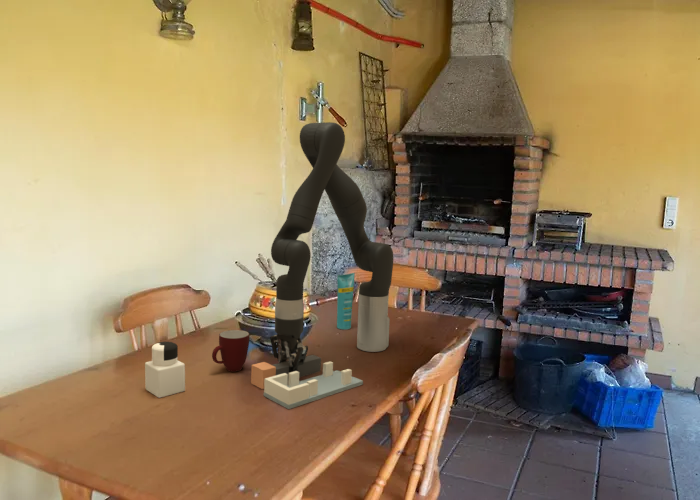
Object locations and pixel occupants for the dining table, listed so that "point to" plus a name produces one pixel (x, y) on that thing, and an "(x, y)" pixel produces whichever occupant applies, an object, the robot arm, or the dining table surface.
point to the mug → (232, 349)
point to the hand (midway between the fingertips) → (288, 376)
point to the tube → (345, 300)
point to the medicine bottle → (164, 370)
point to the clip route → (308, 386)
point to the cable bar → (283, 369)
